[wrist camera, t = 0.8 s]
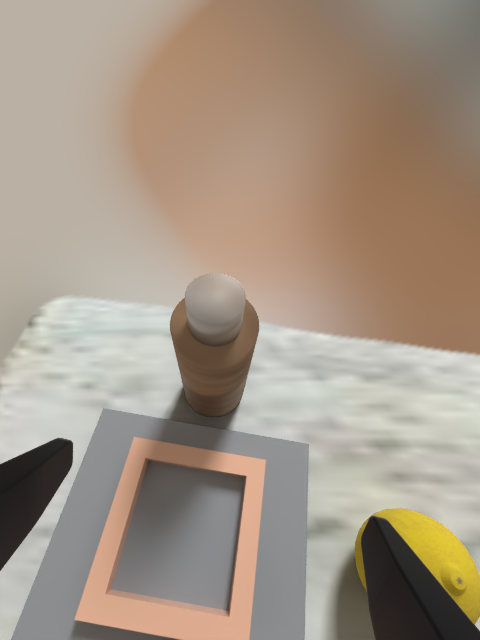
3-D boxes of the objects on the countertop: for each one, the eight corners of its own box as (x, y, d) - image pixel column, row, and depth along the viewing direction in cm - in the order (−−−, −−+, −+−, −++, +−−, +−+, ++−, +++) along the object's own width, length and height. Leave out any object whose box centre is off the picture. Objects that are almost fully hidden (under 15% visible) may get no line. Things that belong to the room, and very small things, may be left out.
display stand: (298, 693, 17) (309, 716, 15) (18, 641, 17) (-6, 656, 15) (305, 446, 24) (313, 440, 22) (107, 412, 24) (98, 403, 22)
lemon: (343, 612, 19) (418, 669, 12) (331, 507, 22) (385, 505, 15) (429, 614, 19) (550, 671, 12) (406, 510, 22) (492, 509, 15)
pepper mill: (217, 430, 24) (221, 361, 13) (172, 390, 25) (141, 299, 14) (254, 384, 26) (284, 293, 15) (211, 350, 28) (211, 245, 17)
